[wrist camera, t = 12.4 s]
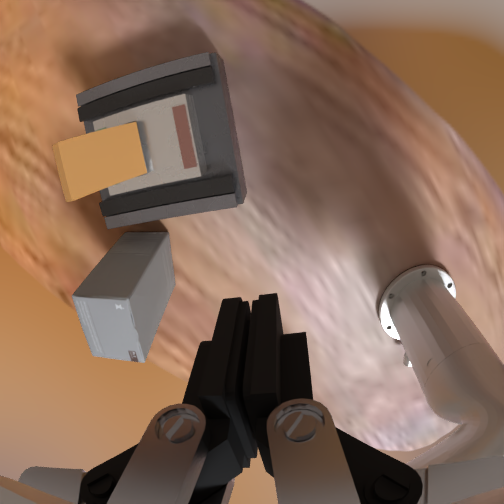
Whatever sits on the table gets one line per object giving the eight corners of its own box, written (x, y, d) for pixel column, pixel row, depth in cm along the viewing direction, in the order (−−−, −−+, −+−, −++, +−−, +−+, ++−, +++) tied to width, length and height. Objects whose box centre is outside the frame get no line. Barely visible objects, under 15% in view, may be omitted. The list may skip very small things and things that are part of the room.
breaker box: (247, 192, 38) (240, 212, 30) (126, 213, 40) (97, 236, 32) (223, 60, 31) (209, 46, 24) (100, 96, 33) (63, 95, 26)
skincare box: (126, 230, 41) (62, 289, 26) (176, 230, 40) (127, 296, 26) (135, 285, 44) (85, 357, 30) (181, 288, 44) (144, 367, 29)
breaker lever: (151, 172, 29) (72, 202, 23) (142, 173, 30) (66, 202, 24) (140, 119, 27) (57, 141, 21) (131, 123, 28) (51, 144, 22)
